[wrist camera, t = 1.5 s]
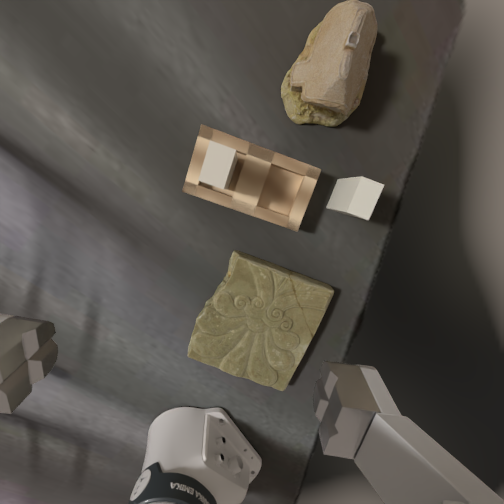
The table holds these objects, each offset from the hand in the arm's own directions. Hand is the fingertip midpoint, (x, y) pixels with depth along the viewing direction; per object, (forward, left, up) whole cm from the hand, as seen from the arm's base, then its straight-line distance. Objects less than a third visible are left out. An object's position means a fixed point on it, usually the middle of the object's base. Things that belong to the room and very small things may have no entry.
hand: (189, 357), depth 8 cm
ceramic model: (+6, -23, -34) cm, 42 cm away
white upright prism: (+7, -4, -32) cm, 33 cm away
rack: (+3, -6, -34) cm, 35 cm away
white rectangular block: (-8, -15, -34) cm, 38 cm away
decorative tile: (-14, +8, -35) cm, 38 cm away
